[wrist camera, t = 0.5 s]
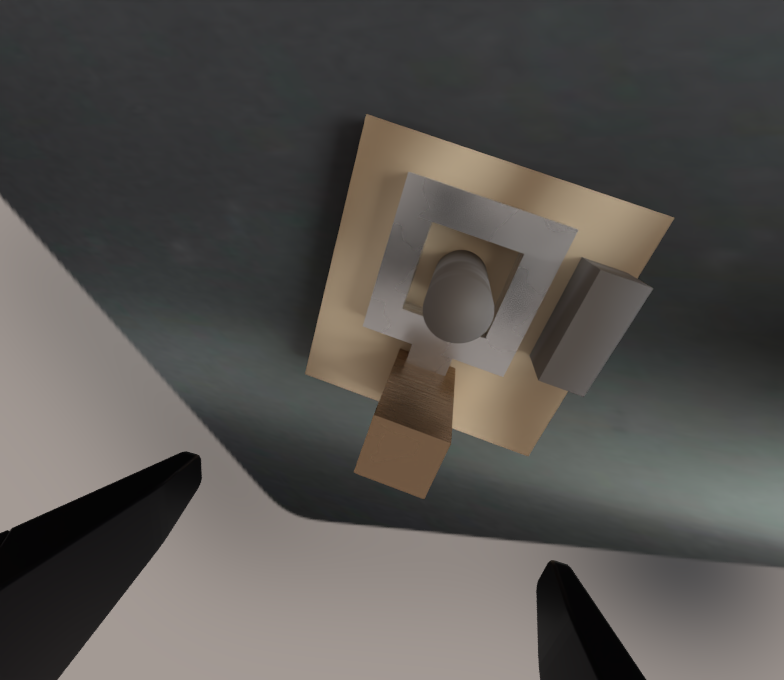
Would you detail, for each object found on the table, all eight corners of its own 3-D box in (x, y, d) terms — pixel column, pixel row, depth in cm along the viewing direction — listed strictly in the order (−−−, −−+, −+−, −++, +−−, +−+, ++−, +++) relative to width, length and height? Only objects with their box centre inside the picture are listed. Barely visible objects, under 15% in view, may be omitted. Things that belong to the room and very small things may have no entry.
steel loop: (570, 226, 16) (625, 251, 10) (470, 426, 20) (471, 517, 15) (412, 172, 16) (384, 169, 11) (349, 382, 21) (307, 454, 15)
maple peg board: (657, 214, 16) (765, 234, 10) (524, 439, 22) (545, 535, 16) (374, 119, 17) (324, 87, 11) (314, 362, 22) (260, 428, 16)
